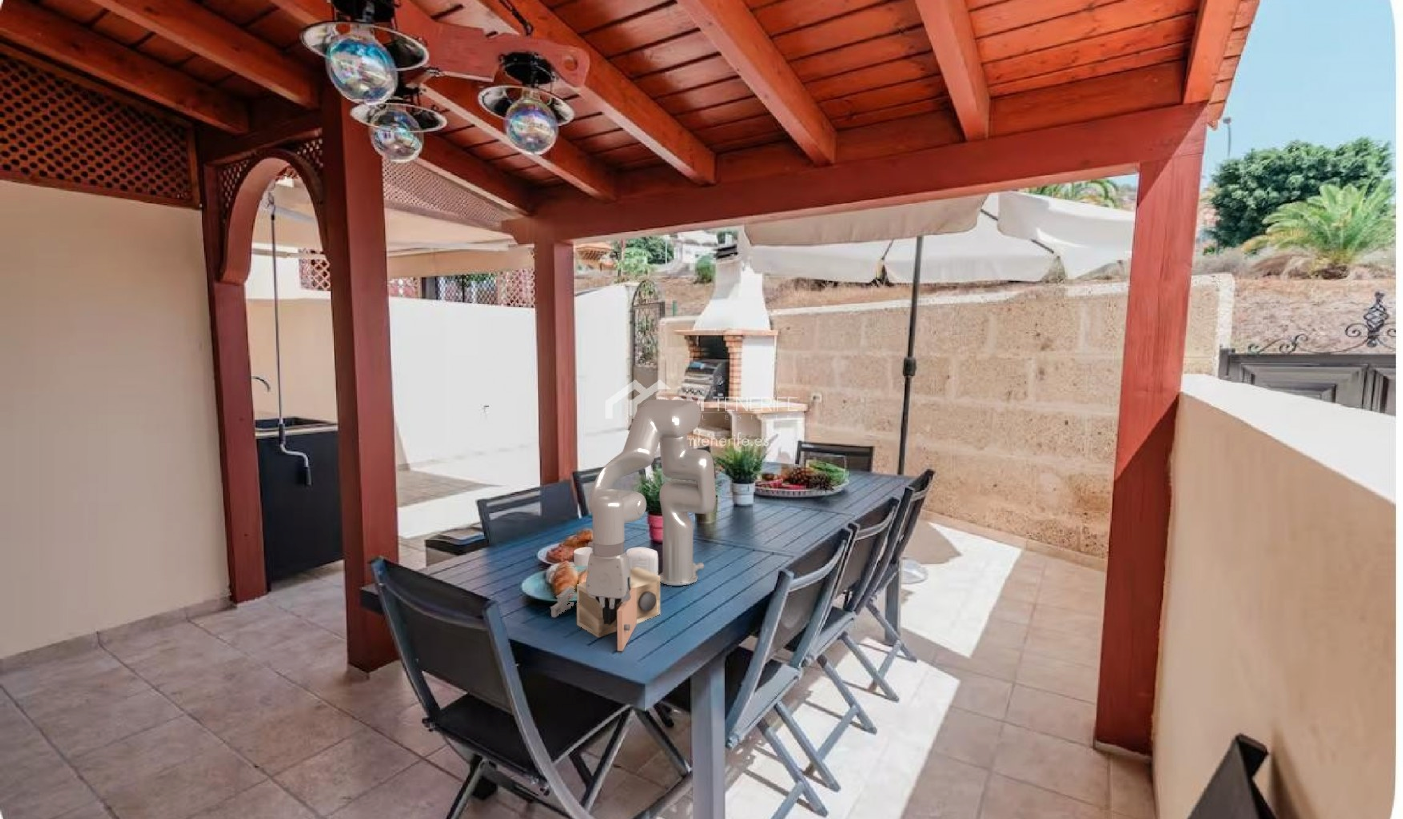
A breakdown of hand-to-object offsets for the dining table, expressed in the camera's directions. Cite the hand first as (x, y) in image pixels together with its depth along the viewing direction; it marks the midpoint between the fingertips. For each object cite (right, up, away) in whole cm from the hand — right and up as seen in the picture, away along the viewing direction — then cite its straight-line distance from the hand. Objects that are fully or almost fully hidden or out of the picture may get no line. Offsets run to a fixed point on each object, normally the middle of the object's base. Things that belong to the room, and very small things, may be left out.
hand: (609, 622), depth 152 cm
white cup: (-13, -3, +44) cm, 46 cm away
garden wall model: (-16, -4, +23) cm, 28 cm away
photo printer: (+4, -3, +40) cm, 40 cm away
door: (+4, -5, +4) cm, 8 cm away
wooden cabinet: (0, -5, +16) cm, 17 cm away
